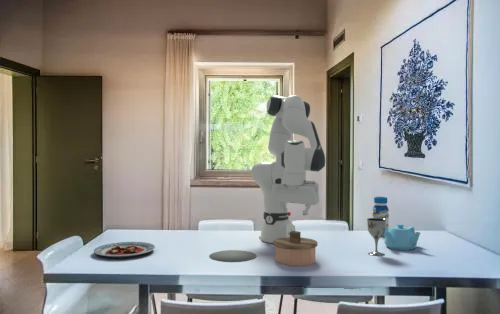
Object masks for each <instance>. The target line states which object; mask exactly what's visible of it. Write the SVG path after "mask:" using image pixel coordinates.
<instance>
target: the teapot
mask: <svg viewBox="0 0 500 314" xmlns="http://www.w3.org/2000/svg"><path fill="white" fill-rule="evenodd" d="M420 235H421V232H420V231H415V226H411V225H410V226H408V227H407V226H404V224H403V223H398V224H396V226H391V227H390V228H389V227H388V228H387V226H386V229H385V233H384V236H383V237H384V244H385V246H386V247H387V248H388V249H391V250H396V251H397V250H398V251H411V250H412V251H413V250H414V249H415V248H416V247H417V244H418V241H419V238H420Z"/></svg>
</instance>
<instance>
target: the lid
mask: <svg viewBox="0 0 500 314" xmlns="http://www.w3.org/2000/svg"><path fill="white" fill-rule="evenodd" d="M301 236H302V235H301V231H299V230H297V231H296V230H295V231H292V232H290V237H286V238H278V239H275V240H273V243H272V245H273V246H274V247H275V246H276V247H279V248H284V249H310V248H314V247H318V244H319V243H318V241H317V240H315V239H312V238H308V237H301Z"/></svg>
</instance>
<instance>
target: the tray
mask: <svg viewBox="0 0 500 314" xmlns="http://www.w3.org/2000/svg"><path fill="white" fill-rule="evenodd" d="M208 257H209V259H211V260H213V261H217V262H222V263H241V262H249V261H253V260H255V259H257V257H258V256H257V254H256V253H254V252H252V251H248V250H240V249H239V250H238V249H235V250H234V249H232V250H231V249H229V250H218V251H215V252H211V254H209V256H208Z"/></svg>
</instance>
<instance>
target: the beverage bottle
mask: <svg viewBox="0 0 500 314" xmlns="http://www.w3.org/2000/svg"><path fill="white" fill-rule="evenodd" d="M373 204H374V206H373V208H372V213H371V215H372V218H382V219H386V226H387V228H388V229H389V226H390V225H389V221H390V220H389V217H390V215H389V211H390V210H389V207H388V205H387V204H388V197H386V196H374V197H373ZM381 237H385V236H384V234H383V235H382V236H381Z"/></svg>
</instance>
